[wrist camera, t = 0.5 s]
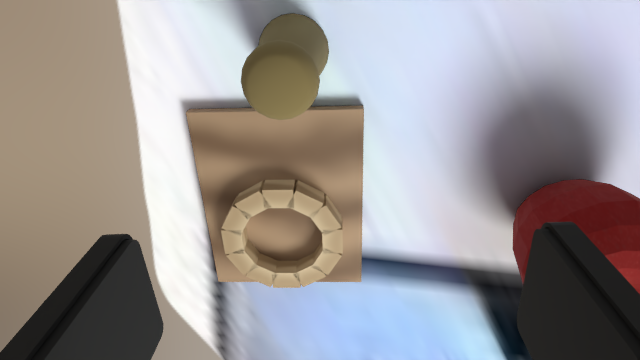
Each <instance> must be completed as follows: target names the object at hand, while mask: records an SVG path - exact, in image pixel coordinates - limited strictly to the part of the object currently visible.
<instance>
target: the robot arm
mask: <svg viewBox="0 0 640 360" xmlns="http://www.w3.org/2000/svg"><path fill="white" fill-rule="evenodd" d="M517 326H518V330H519V332H520V335H521V337H522V339H523V341H524V343H525V345H526V347H527V349H528V351H529V353H530V355H531V357H532V359H533V360H640V294H639V293H638V292H637V291H636V290H635V288H634V287H633V286H632V285H631V284H630V283H629V282H628V281H627V280H626V279H625V277H624V276H623V275H622V274H621V273H620V272H619V271H618V270H617V269H616V268H615V267H614V265H613V264H612V263H611V262H610V261H609V260H608V259H607V258H606V257H605V256H604V254H603V253H602V252H601V251H600V250H599V249H598V248H597V247H596V246H595V245H594V243H593V242H592V241H591V240H590V239H589V238H588V237H587V236H586V235H585V234H584V233H583V231H582V230H581V229H580V228H579V227H578V226H577V225H576V224H575V223H574V222H546V223H544V224H543V225H542V227H541V229H536V230H535V231H534V234H533V238H532V243H531V248H530V253H529V258H528V263H527V268H526V273H525V278H524V283H523V288H522V293H521V298H520V303H519V308H518V313H517ZM162 333H163V321H162V317H161V314H160V311H159V308H158V304H157V301H156V297H155V294H154V291H153V288H152V284H151V281H150V277H149V274H148V271H147V268H146V264H145V261H144V257H143V254H142V251H141V247H140V244H139V242H138V241H137V240H133V239H132V237H131V236H130V235H128V234H114V235H102V236H101V237H100V238H99V239H98V240H97V242H96V243H95V244H94V245H93V246H92V247H91V248H90V250H89V251H88V252H87V253H86V254H85V255H84V257H83V258H82V259H81V260H80V261H79V262H78V263H77V265H76V266H75V267H74V268H73V269H72V270H71V272H70V273H69V274H68V275H67V276H66V277H65V278H64V280H63V281H62V282H61V283H60V284H59V285H58V286H57V288H56V289H55V290H54V291H53V292H52V293H51V295H50V296H49V297H48V298H47V299H46V300H45V301H44V303H43V304H42V305H41V306H40V307H39V308H38V310H37V311H36V312H35V313H34V314H33V315H32V317H31V318H30V319H29V320H28V321H27V322H26V323H25V325H24V326H23V327H22V328H21V329H20V330H19V332H18V333H17V334H16V335H15V336H14V337H13V339H12V340H11V341H10V342H9V343H8V344H7V345H6V347H5V348H4V349H3V350H2V351H1V352H0V360H151V358H152V356H153V354H154V352H155V349H156V347H157V345H158V343H159V341H160V339H161V336H162Z"/></svg>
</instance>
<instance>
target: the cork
mask: <svg viewBox="0 0 640 360" xmlns="http://www.w3.org/2000/svg"><path fill="white" fill-rule="evenodd" d="M328 54H329V49H328V41H327V38H326V36H325V34H324V32H323V30H322V29H321V28H320V26H319V25H318V24H317V23H316V22H315V21H313V20H312V19H310V18H308V17H306V16H305V15H300V14H294V13H291V14H285V15H281V16H279V17H277V18H275V19H273V20H272V21H271V22H270V23H269V24H268V25H267V26H266V27H265V28H264V30H263V32H262V34H261V37H260V39H259V46H258V47H257V48H256V49H255V50H254V51H253V52H252V53H251V54H250V55H249V56H248V57H247V59H246V61H245V63H244V66H243V68H242V76H241V84H242V88H243V92H244V95H245V97H246V99H247V101H248V102H249V104H250V105H251V106H252V107H253V108H254V109H255V110H256V111H257V112H258V113H260V114H262V115H264V116H266V117H268V118H271V119H277V120H286V119H292V118H294V117H296V116H299V115H301V114H303V113H304V112H305V111H306V110H307V109H308V108H309V107H310V106H311V105H312V104H313V102H314V100H315V98H316V96H317V94H318V89H319V83H320V79H319V75H320V74H321V73H322V71H323V69H324V67H325V65H326V63H327V59H328Z"/></svg>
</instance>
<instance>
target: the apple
mask: <svg viewBox="0 0 640 360" xmlns="http://www.w3.org/2000/svg"><path fill="white" fill-rule="evenodd" d="M546 222H574V223H575V224H576V225H577V226H578V227H579V228H580V229H581V230H582V231H583V233H584V234H585V235H586V236H587V237H588V238H589V239H590V240H591V241H592V242H593V243H594V245H595V246H596V247H597V248H598V249H599V250H600V251H601V252H602V253H603V254H604V256H605V257H606V258H607V259H608V260H609V261H610V262H611V263H612V264H613V265H614V267H615V268H616V269H617V270H618V271H619V272H620V273H621V274H622V275H623V276H624V277H625V279H626V280H627V281H628V282H629V283H630V284H631V285H632V286H633V287H634V288H635V290H636V291H637V292H638V293H639V294H640V199H639V198H638V197H636V196H634V195H632V194H630V193H628V192H626V191H624V190H622V189H620V188H617V187H615V186H613V185H611V184H607V183H601V182H595V181H589V180H584V179H577V180H563V181H560V182H557V183H553V184H550V185H546V186H544V187H542V188H541V189H539V190H538V191H536V192H534V193H533V194H531V195H530V196H528V198H527V199H526V200H525V201H524V202H523V203H522V204H521V205H520V207H519V208H518V209H517V212H516V216H515V219H514V223H513V251H514V255H515V258H516V262H517V265H518V268H519V272H520V275H521V279H522V282H523V283H524V278H525V273H526V268H527V263H528V258H529V253H530V248H531V243H532V238H533V234H534V231H535V230H536V229H541V227H542V225H543V224H544V223H546Z"/></svg>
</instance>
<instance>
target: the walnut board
mask: <svg viewBox="0 0 640 360" xmlns="http://www.w3.org/2000/svg"><path fill="white" fill-rule="evenodd" d="M186 116H187V121H188V126H189V131H190V136H191V142H192V147H193V152H194V157H195V162H196V167H197V172H198V178H199V183H200V188H201V193H202V198H203V203H204V208H205V214H206V219H207V224H208V229H209V234H210V239H211V245H212V250H213V255H214V260H215V265H216V270H217V275H218V281H219V282H257V281H255V280H253V279H250V278H248V277H246V274H244V275H243V274H242V273H241V272H240V271H239V270H238V268H237V267H236V266H235V265H234V264H233V263H232V262H231V261H230V260H229V258H228V257H227V254H225V250H224V244H223V239H222V233H221V229H222V225H223V223H224V221H225V218H226V216H227V214H228V212H229V210H230V208H231V206H232V204H233V202H234V200H235V198H236V196H238V194H239V193H241V192H243V191H245V190H246V189H248V188H250V187H252V186H254V185H255V184H257V183H259V182H261V181H263V182H265V180H295V185H296V183H297V181H298V180H299V181H301V182H303V183H305V184H307V185H309V186H311V187H313V188H315V189H317V190H319V191H322V192H324V196H325V195H327V196H328V197H329V199H330V200H331V202H332V203H333V205H334V206H335V207H336V209H337V210H338V212H339V213H340V214H341V216H342V231H343V253H342V256H341V258H340V259H339V261H338V262H337V263H336V265H335V266H334V268H333V269H332V270H331V272H330V273H329V275H327V274H326V277H324V278H322V279H320V280H317V281H315V282H361V260H362V192H363V124H364V108H363V106H314V107H309V108H308V109H307V110H306V111H305V112H304V113H303V114H301V115H299V116H296V117H294V118H292V119H286V120H277V119H271V118H268V117H266V116H264V115H262V114H260V113H258V112H257V111H256V110H255V109H254V108H217V109H189V110H188V111H187V112H186ZM246 230H247V237H248V240H249V241H250V242H251V243H252V244H253V246H254V247H255V248H256V249H257V250H258V252H259V253H261V254H263V255H266V256H268V257H270V258H273V259H275V260H277V261H298V260H300V259H302V258H304V257H306V256H308V255H310V254H312V253H314V252H315V250H316V249H317V247H318V246H319V244H320V243H321V241H322V232H321V231H320V230H319V228H318V227H317V226H316V224H315V223H314V222H313V220H312V219H311V218H310V217H309V216H306V215H304V214H302V213H300V212H298V211H296V210H293V209H291V208H268V209H266V210H264V211H262V212H260V213H258V214H256V215H254V216H253V217H251V218H250V219H249V221H248V223H247V224H246Z"/></svg>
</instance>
